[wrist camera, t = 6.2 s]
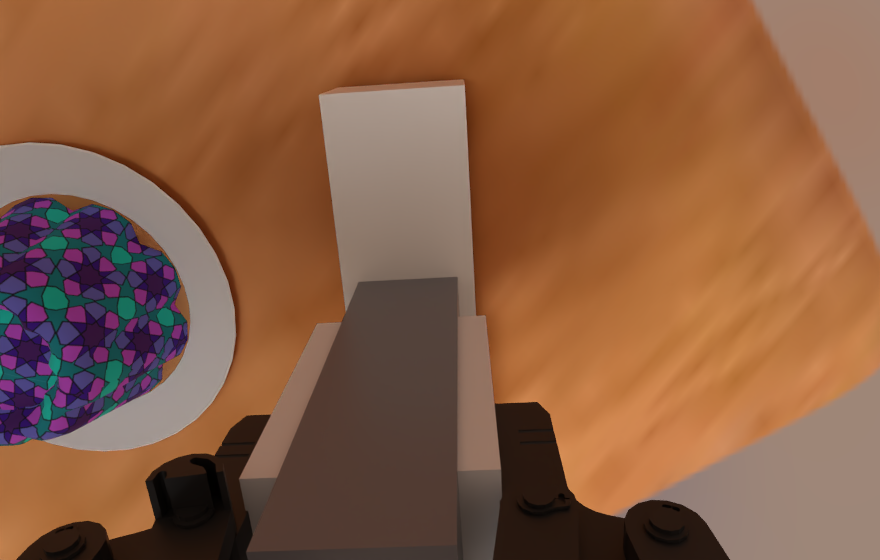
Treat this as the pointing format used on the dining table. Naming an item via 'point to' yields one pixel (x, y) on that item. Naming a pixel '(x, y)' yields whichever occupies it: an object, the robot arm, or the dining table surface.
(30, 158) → the pudding
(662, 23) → the dining table surface
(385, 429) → the scraper
